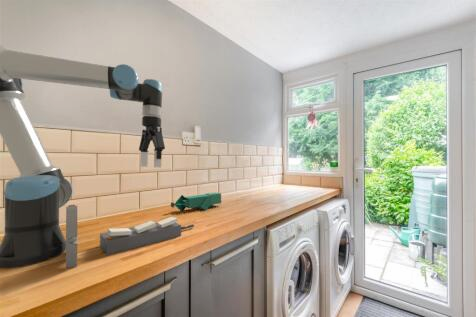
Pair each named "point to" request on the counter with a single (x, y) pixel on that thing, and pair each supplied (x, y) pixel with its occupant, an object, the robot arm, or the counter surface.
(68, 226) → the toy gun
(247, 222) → the counter surface
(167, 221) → the rocker right
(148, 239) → the strip
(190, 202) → the toy
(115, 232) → the rocker left
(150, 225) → the rocker mid
